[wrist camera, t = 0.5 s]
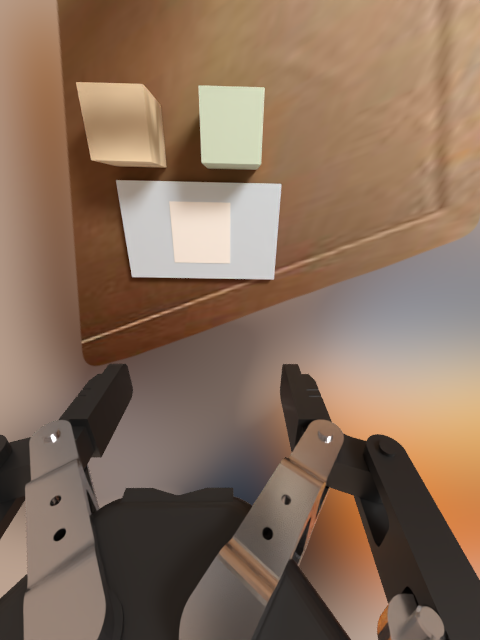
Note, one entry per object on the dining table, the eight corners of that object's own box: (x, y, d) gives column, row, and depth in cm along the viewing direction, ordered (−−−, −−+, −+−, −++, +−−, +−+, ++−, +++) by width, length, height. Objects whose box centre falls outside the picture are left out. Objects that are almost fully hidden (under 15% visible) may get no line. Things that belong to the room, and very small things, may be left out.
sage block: (205, 106, 29) (198, 85, 23) (259, 107, 29) (264, 87, 23) (207, 168, 31) (201, 162, 26) (256, 169, 31) (261, 164, 26)
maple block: (106, 103, 28) (75, 81, 23) (160, 105, 29) (142, 84, 23) (116, 166, 31) (91, 160, 26) (166, 167, 31) (151, 161, 26)
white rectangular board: (118, 180, 32) (115, 180, 31) (280, 184, 32) (281, 183, 31) (134, 275, 37) (131, 277, 36) (273, 277, 37) (273, 279, 36)
